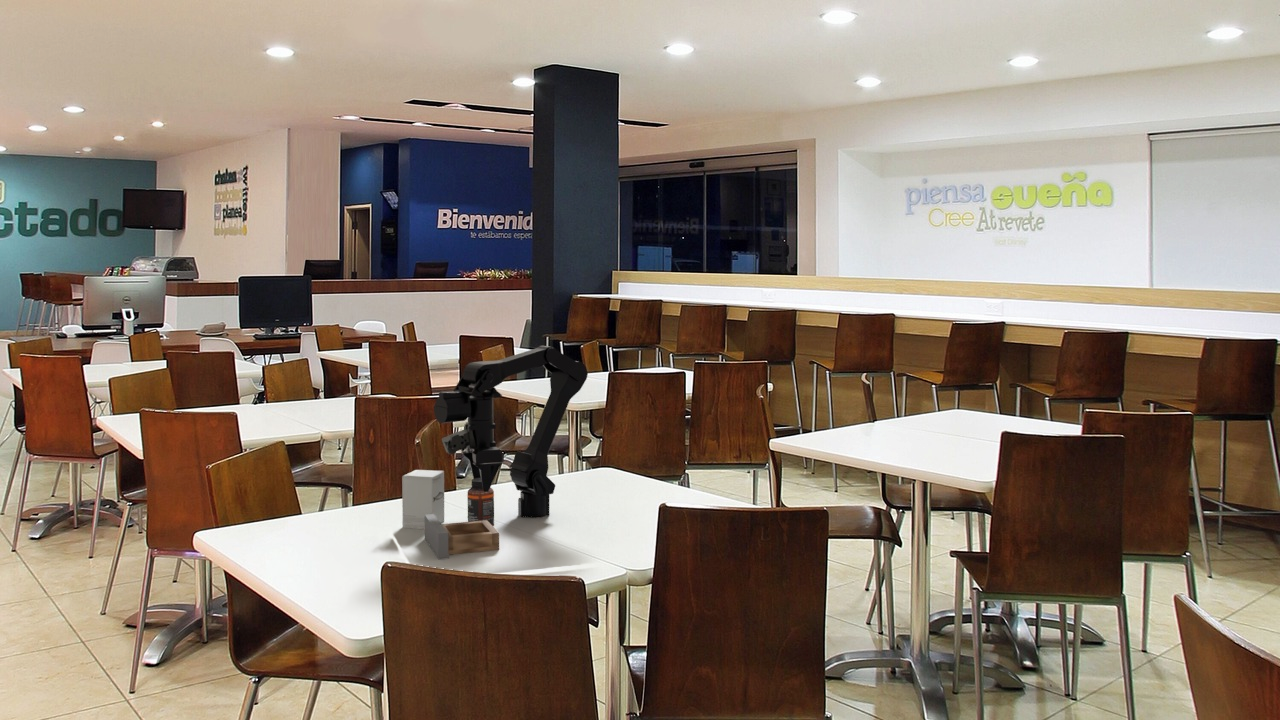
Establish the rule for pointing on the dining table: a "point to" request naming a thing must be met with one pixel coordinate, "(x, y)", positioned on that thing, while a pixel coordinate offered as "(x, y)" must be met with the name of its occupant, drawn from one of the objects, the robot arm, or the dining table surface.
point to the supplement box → (422, 497)
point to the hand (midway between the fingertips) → (481, 487)
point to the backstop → (436, 536)
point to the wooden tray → (471, 537)
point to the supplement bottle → (480, 503)
